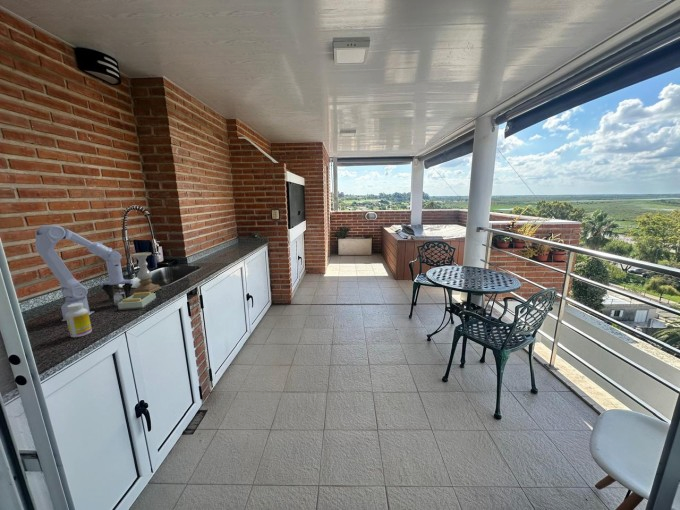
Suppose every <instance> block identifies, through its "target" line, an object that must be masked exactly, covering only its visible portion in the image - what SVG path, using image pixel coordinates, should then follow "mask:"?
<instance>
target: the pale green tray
mask: <svg viewBox="0 0 680 510" xmlns="http://www.w3.org/2000/svg"><path fill="white" fill-rule="evenodd" d="M155 299H156V300H157V296H156V292H155V293H151V292H143V293H134V295H132V294H131V295H130V296H129V297H127V298H126V299H123V300H122V301H121V302H119V303H118V306H117V308H118V311H125V310H126V311H127V310H137V309H138V310H141V309H144V308H146V307H147V306H149V305H150V304H152V303H153V302H155ZM152 301H153V302H152Z"/></svg>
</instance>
